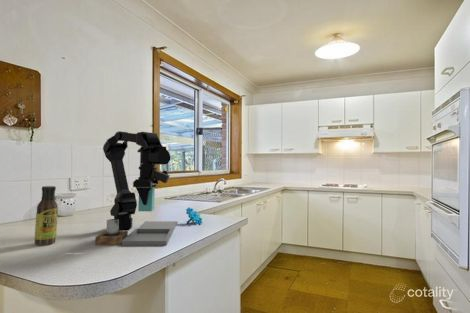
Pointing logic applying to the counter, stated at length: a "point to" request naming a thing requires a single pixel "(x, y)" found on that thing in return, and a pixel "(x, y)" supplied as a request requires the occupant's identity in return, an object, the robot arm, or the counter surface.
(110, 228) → the silver metal cylinder
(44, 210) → the sauce bottle
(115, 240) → the square wooden tray
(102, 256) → the counter surface
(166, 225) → the case
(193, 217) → the blue toy frog
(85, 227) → the counter surface
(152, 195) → the block
